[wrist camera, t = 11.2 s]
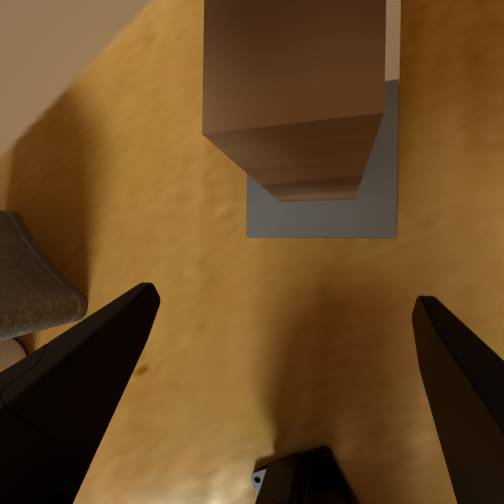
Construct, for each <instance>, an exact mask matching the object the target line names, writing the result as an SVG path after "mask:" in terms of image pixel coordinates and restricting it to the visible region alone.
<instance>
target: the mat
mask: <svg viewBox="0 0 504 504" xmlns="http://www.w3.org/2000/svg"><path fill="white" fill-rule="evenodd" d="M398 98H399V79H396V80H390V81H385V102H384V115H383V118H382V121H381V124H380V127H379V130H378V133H377V136H376V138H375V141H374V144H373V147H372V150H371V153H370V156H369V159H368V162H367V165H366V168H365V171H364V174H363V177H362V180H361V183H360V186H359V189H358V192H357V195H356V198H355V199H353V200H326V201H299V202H280V201H279V200H277V199H276V198H275V197H274V196H273V195H272V194H270V193H269V192H268V191H267V190H266V189H265V188H264V187H262V186H261V185H260V184H259V183H258V182H257V181H256V180H254V179H253V178H252V177H251V176H250V175H249V174H248V173H247V237H248V238H394V237H396V221H397V160H398Z"/></svg>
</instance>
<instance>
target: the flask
mask: <svg viewBox="0 0 504 504" xmlns="http://www.w3.org/2000/svg"><path fill="white" fill-rule="evenodd" d="M86 312H87V300H86V298H85V296H84V295H83V294H82V293H81V292H80V291H79V290H78V289H76V288H75V287H74V286H73V285H72V284H71V283H70V282H68V281H67V280H66V279H65V278H64V277H63V276H62V275H61V273H60V272H59V271H58V270H57V269H56V268H55V267H54V266H53V265H52V263H51V262H50V261H49V260H48V258H47V257H46V256H45V255H44V253H43V252H42V251H41V249H40V248H39V247H38V245H37V244H36V242H35V241H34V239H33V238H32V236H31V235H30V233H29V232H28V230H27V228H26V226H25V225H24V223H23V221H22V219H21V217H20V215H19V214H18V213H16V212H11V211H2V210H0V341H3V340H6V339H10V338H14V337H18V336H21V335H25V334H29V333H33V332H37V331H40V330H44V329H48V328H52V327H56V326H59V325H63V324H67V323H71V322H74V321H78V320H81V319H82V318H83V317H84V316H85V314H86Z"/></svg>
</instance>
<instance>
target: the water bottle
mask: <svg viewBox="0 0 504 504" xmlns="http://www.w3.org/2000/svg"><path fill="white" fill-rule="evenodd" d="M26 356H27V355H26V353H25V351H24V349H23V348H22V346H21V345H20V344H19V343H18V342H17V341H16V340H14V339H12V338H10V339H6V340H3V341H0V372H1V371H3V370H5V369H6V368H8V367H10V366H12V365H13V364H15V363H17V362H18V361H20V360H22V359H23V358H25V357H26Z"/></svg>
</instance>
